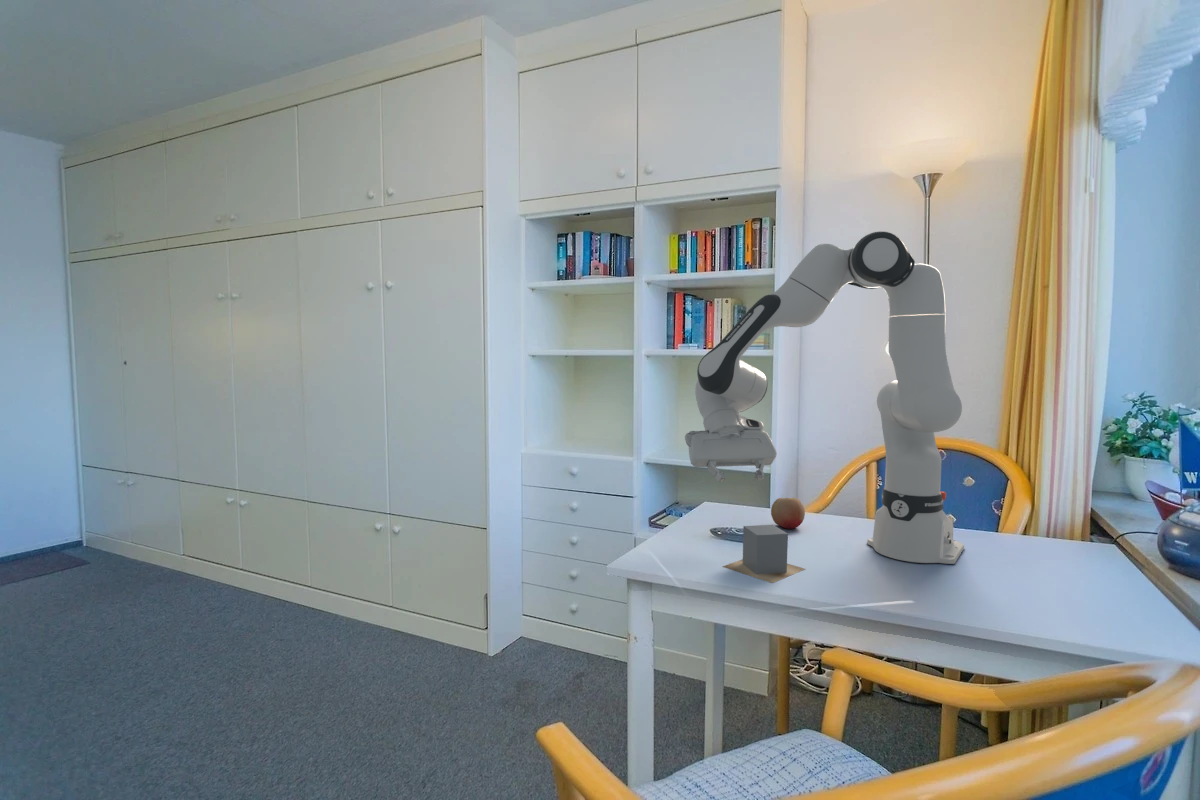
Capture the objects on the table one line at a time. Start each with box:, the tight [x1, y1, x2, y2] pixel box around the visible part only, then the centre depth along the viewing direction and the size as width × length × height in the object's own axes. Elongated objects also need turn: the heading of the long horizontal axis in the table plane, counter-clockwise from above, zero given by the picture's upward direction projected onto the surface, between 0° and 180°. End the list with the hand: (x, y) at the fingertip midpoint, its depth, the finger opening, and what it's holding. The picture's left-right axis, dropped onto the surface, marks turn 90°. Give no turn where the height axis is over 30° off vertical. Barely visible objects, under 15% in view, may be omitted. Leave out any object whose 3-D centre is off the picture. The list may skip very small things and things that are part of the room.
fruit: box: [770, 497, 806, 530], centre depth 159 cm, size 8×8×8 cm
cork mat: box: [722, 558, 806, 584], centre depth 129 cm, size 12×12×1 cm
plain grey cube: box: [742, 524, 789, 574], centre depth 128 cm, size 7×7×8 cm
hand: (740, 479), depth 139 cm, fingers open, 8 cm apart
